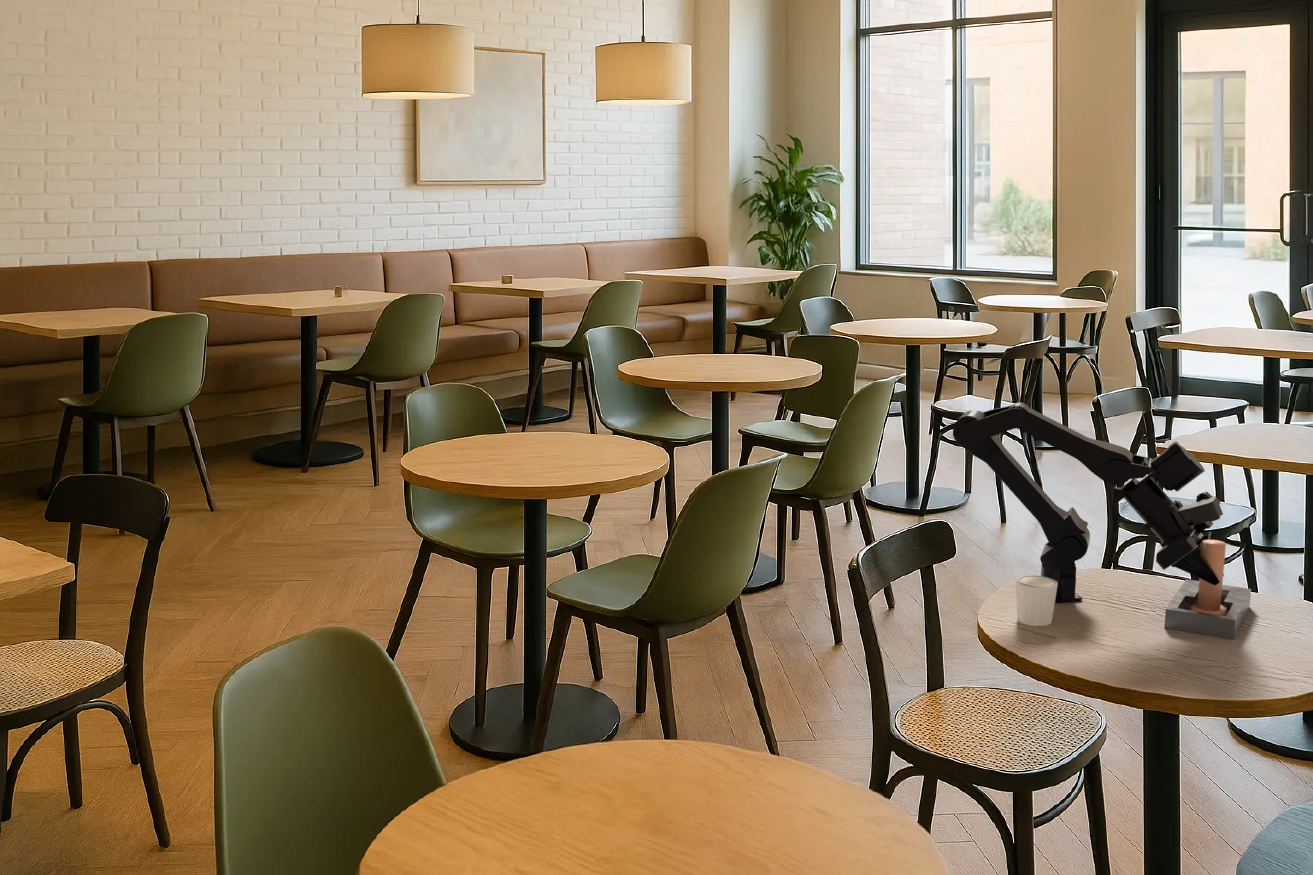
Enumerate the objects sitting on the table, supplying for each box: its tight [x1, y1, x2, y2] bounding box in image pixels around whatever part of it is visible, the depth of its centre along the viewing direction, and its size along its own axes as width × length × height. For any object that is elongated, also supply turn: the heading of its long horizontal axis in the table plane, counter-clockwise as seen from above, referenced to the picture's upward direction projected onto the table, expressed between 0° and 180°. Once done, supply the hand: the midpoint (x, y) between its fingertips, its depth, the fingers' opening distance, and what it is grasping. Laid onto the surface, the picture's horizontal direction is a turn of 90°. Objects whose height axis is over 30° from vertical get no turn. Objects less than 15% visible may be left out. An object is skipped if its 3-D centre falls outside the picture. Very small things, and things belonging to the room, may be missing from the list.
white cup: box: [1015, 575, 1058, 627], centre depth 208 cm, size 7×7×7 cm
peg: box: [1188, 539, 1229, 616], centre depth 208 cm, size 6×6×13 cm
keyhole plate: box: [1164, 579, 1252, 640], centre depth 209 cm, size 18×11×3 cm, turn 147°
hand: (1219, 580), depth 207 cm, fingers closed on peg, 4 cm apart
